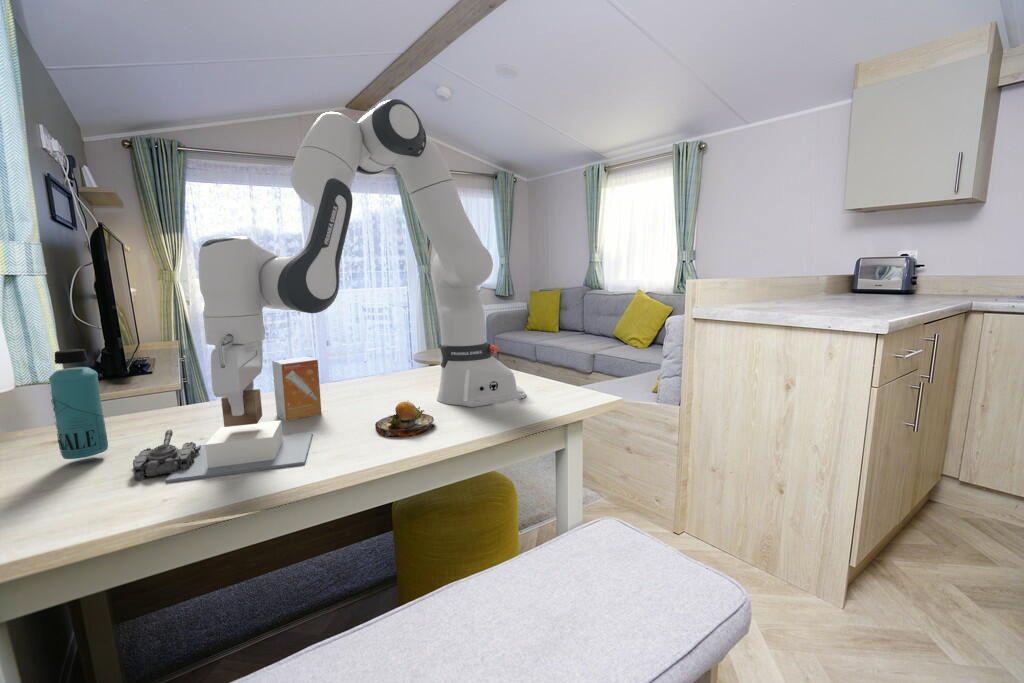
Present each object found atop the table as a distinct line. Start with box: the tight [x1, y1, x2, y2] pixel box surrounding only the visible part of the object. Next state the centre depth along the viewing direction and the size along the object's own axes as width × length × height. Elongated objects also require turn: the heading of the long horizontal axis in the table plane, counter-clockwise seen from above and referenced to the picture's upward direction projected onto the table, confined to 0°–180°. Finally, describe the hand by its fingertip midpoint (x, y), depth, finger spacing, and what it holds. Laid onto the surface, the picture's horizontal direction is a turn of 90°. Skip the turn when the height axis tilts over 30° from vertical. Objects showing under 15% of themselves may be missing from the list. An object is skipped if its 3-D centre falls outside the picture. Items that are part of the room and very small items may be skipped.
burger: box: [374, 401, 435, 438], centre depth 98 cm, size 12×12×8 cm
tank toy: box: [132, 429, 202, 482], centre depth 80 cm, size 12×10×5 cm
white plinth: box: [204, 419, 284, 468], centre depth 84 cm, size 10×10×4 cm
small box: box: [271, 356, 322, 422], centre depth 108 cm, size 8×6×13 cm
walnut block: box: [220, 388, 263, 427], centre depth 83 cm, size 5×5×5 cm
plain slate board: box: [165, 432, 314, 484], centre depth 84 cm, size 20×16×1 cm
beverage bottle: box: [48, 348, 109, 460], centre depth 82 cm, size 6×7×20 cm
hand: (243, 409), depth 83 cm, fingers closed on walnut block, 5 cm apart
